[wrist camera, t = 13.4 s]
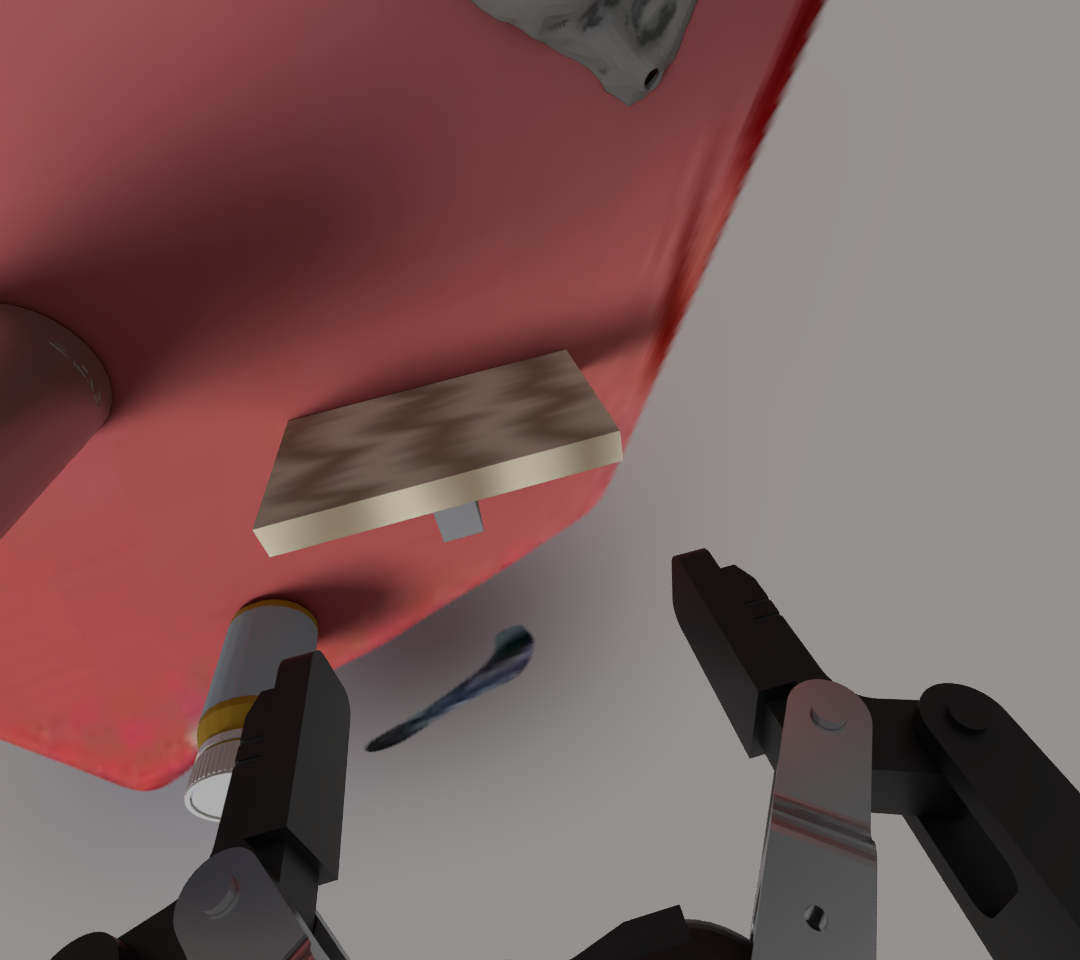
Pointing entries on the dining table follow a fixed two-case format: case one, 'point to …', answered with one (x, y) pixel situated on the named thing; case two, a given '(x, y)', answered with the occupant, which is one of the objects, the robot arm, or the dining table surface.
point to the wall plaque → (605, 35)
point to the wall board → (433, 450)
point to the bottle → (242, 692)
